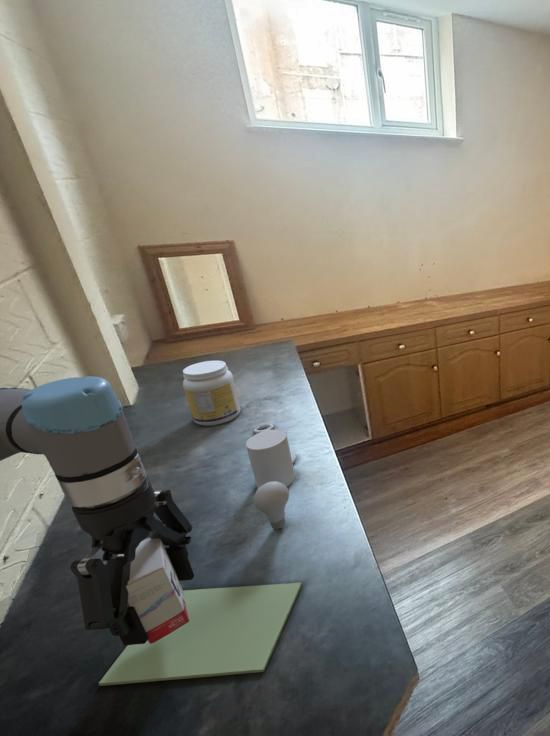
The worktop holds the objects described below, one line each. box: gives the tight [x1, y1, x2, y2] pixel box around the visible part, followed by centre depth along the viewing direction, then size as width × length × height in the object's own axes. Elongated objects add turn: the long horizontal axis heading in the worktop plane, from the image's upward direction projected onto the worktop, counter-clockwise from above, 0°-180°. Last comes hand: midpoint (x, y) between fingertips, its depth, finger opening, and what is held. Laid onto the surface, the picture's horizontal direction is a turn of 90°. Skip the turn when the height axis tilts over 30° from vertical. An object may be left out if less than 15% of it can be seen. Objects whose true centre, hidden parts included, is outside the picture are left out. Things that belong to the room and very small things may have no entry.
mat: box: [98, 582, 303, 687], centre depth 63 cm, size 22×14×1 cm, turn 95°
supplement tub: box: [182, 360, 242, 427], centre depth 120 cm, size 12×12×17 cm
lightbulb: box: [253, 481, 290, 530], centre depth 81 cm, size 6×6×11 cm
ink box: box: [117, 537, 189, 644], centre depth 59 cm, size 9×5×12 cm, turn 44°
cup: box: [245, 429, 296, 490], centre depth 94 cm, size 8×8×12 cm
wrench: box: [253, 423, 297, 464], centre depth 109 cm, size 25×2×5 cm
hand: (162, 607), depth 61 cm, fingers closed on ink box, 9 cm apart
